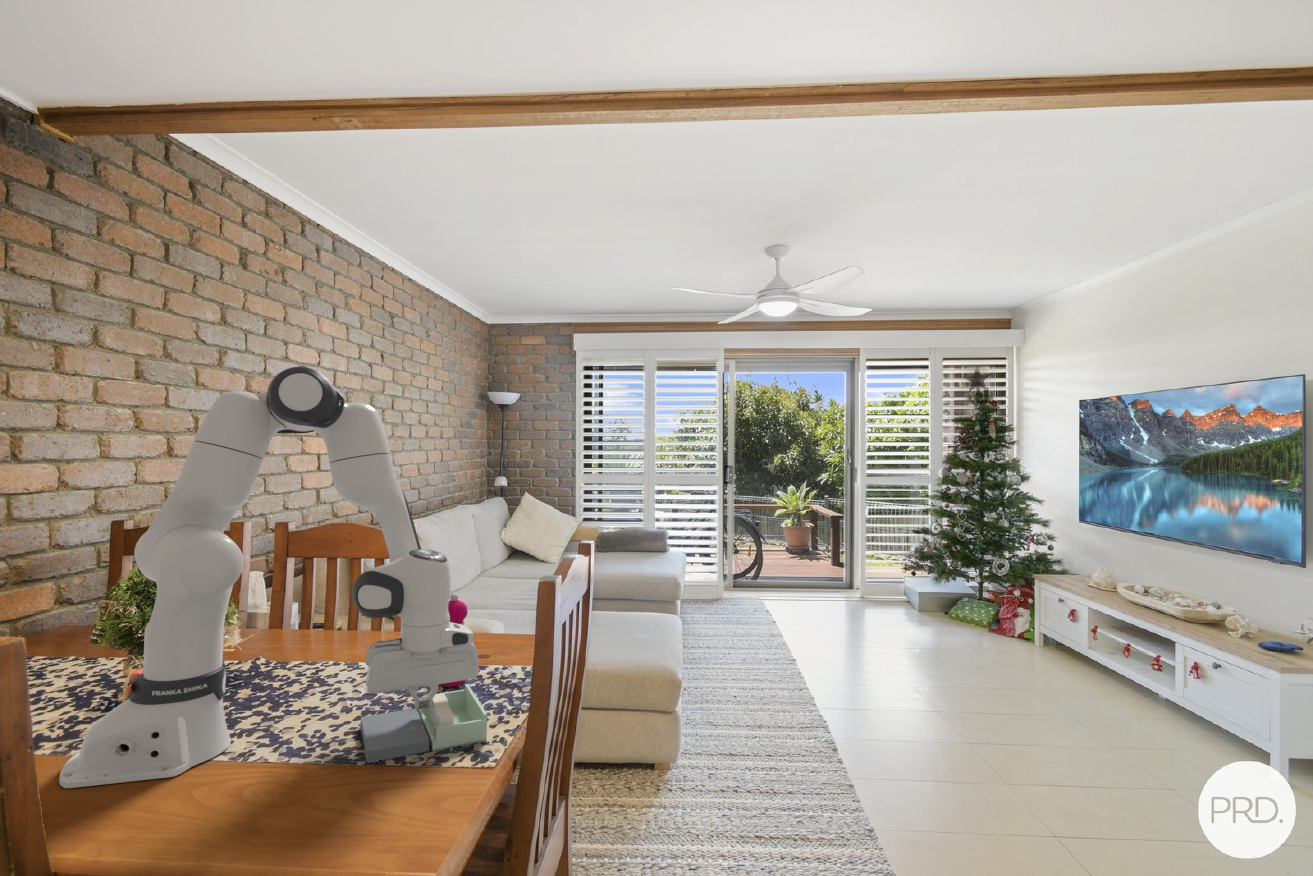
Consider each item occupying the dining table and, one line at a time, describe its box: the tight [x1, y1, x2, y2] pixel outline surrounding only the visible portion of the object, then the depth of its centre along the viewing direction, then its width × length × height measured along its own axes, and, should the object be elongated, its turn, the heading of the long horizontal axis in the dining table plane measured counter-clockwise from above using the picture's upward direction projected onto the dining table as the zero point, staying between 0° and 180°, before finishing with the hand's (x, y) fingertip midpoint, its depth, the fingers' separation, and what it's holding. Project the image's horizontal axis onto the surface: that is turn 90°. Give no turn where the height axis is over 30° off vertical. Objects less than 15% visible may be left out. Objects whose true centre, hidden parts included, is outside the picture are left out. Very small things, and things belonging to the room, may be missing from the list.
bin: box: [418, 683, 488, 753], centre depth 123 cm, size 10×16×5 cm, turn 29°
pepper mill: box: [439, 593, 468, 688], centre depth 146 cm, size 7×7×20 cm
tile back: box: [430, 692, 448, 728], centre depth 125 cm, size 4×4×2 cm
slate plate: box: [360, 707, 430, 764], centre depth 118 cm, size 10×15×2 cm, turn 29°
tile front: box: [435, 706, 454, 735], centre depth 119 cm, size 4×4×2 cm
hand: (423, 708), depth 123 cm, fingers closed
